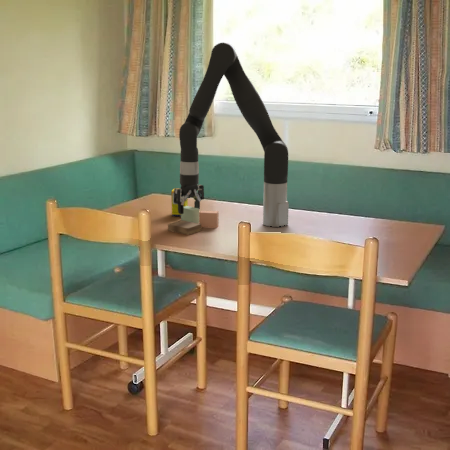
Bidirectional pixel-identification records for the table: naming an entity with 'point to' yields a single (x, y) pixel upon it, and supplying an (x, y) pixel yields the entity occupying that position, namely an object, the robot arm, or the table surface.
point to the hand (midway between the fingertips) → (189, 212)
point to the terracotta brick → (209, 219)
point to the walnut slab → (184, 227)
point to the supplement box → (176, 205)
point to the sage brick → (190, 214)
